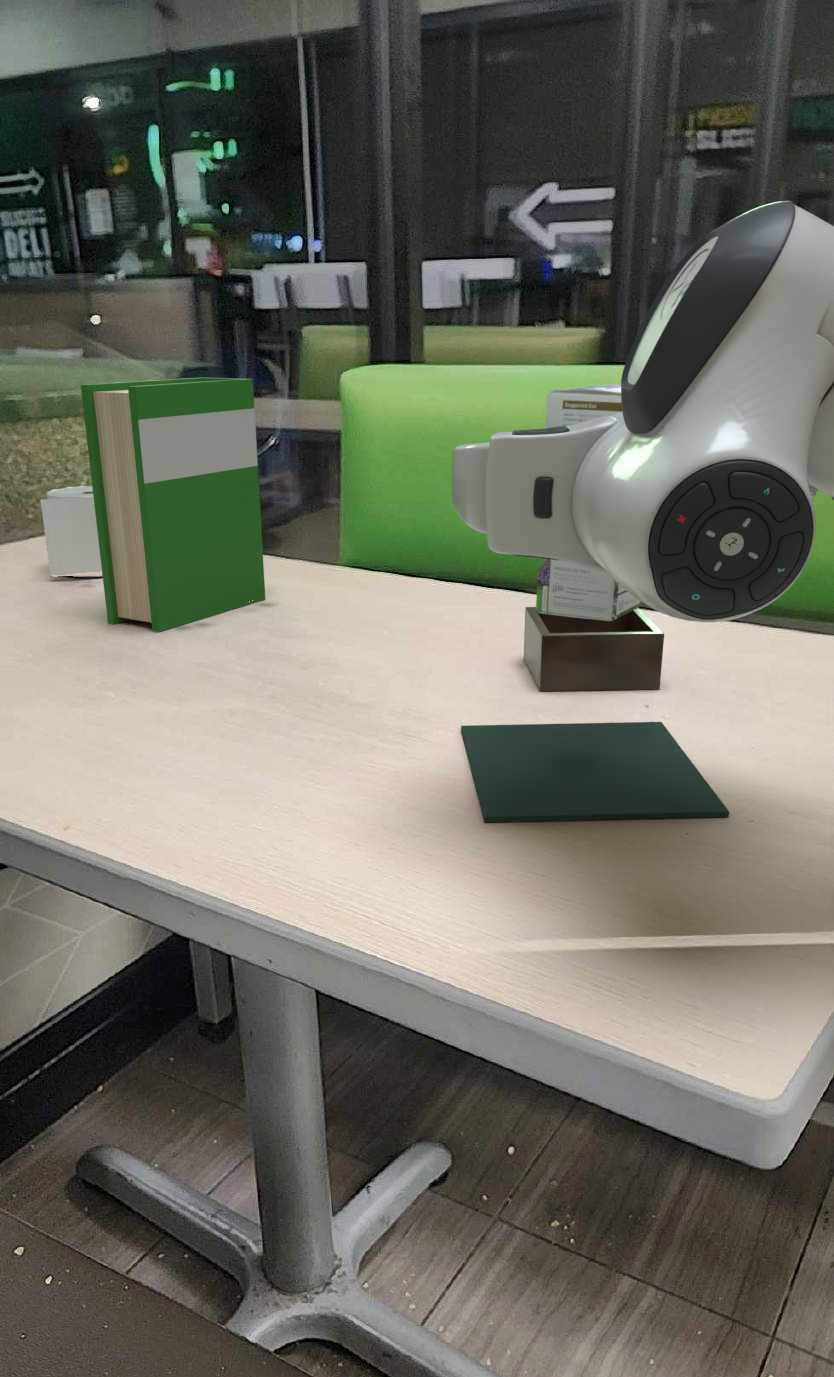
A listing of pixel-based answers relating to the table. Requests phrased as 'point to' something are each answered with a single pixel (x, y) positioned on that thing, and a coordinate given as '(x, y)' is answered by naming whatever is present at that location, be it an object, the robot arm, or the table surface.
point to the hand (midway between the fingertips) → (596, 466)
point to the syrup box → (567, 582)
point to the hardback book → (175, 497)
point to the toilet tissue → (71, 531)
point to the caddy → (593, 652)
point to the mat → (585, 773)
